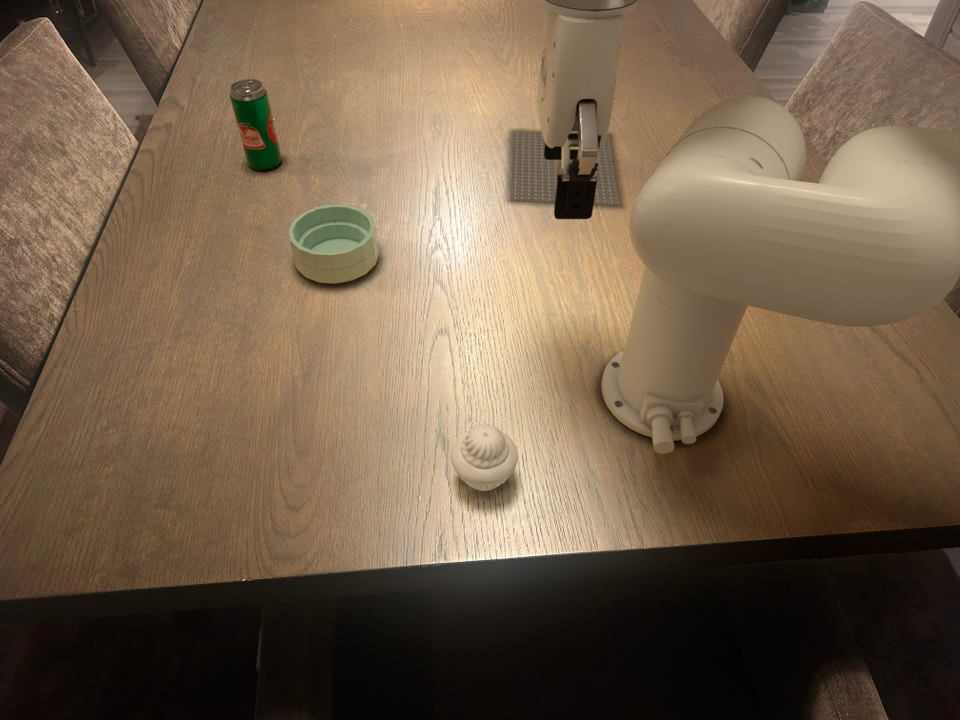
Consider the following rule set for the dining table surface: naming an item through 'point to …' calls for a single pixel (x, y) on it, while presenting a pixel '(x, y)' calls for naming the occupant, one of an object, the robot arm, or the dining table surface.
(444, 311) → the dining table surface
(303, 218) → the bowl
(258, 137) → the soda can
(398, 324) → the dining table surface
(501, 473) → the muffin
